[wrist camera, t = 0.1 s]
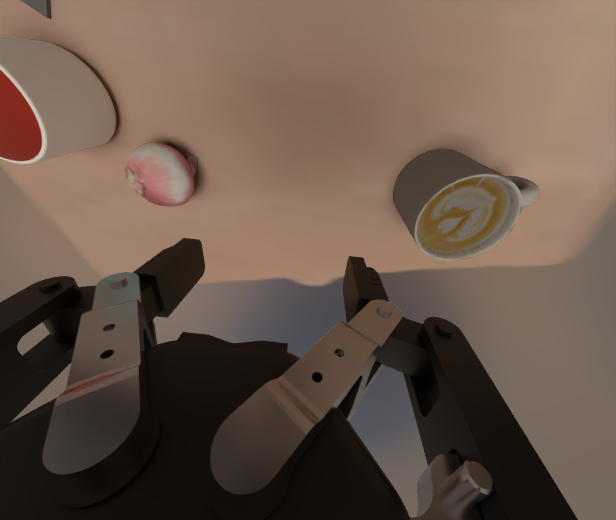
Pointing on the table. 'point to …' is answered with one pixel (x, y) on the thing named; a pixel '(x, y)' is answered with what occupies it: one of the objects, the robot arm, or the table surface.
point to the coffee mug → (458, 204)
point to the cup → (49, 102)
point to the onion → (162, 174)
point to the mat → (40, 6)
